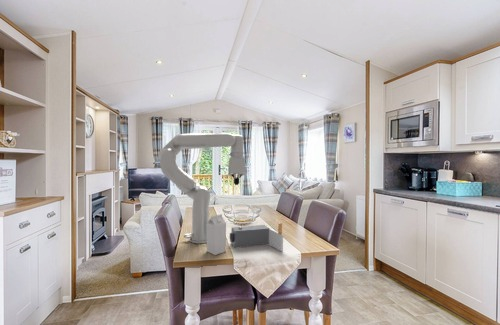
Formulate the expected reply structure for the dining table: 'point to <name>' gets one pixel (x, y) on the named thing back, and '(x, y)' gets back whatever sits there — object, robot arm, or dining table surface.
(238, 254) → the dining table surface
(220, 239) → the milk carton
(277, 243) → the side door
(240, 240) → the box
